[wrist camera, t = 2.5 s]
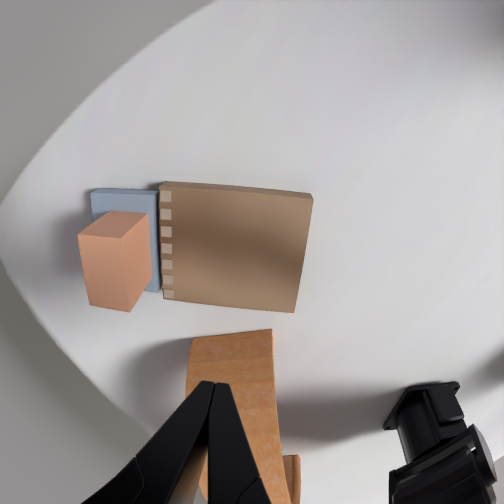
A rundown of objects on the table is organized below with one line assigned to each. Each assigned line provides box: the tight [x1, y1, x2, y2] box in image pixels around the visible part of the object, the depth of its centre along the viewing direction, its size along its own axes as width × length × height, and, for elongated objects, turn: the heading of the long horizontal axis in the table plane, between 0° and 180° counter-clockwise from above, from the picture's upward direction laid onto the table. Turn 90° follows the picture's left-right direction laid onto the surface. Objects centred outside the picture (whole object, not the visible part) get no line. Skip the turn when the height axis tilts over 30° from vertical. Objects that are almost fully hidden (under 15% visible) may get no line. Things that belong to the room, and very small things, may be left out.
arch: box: [186, 329, 301, 504], centre depth 20 cm, size 6×20×10 cm, turn 11°
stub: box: [77, 189, 162, 312], centre depth 16 cm, size 6×4×5 cm, turn 175°
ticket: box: [159, 181, 313, 313], centre depth 17 cm, size 7×8×1 cm
